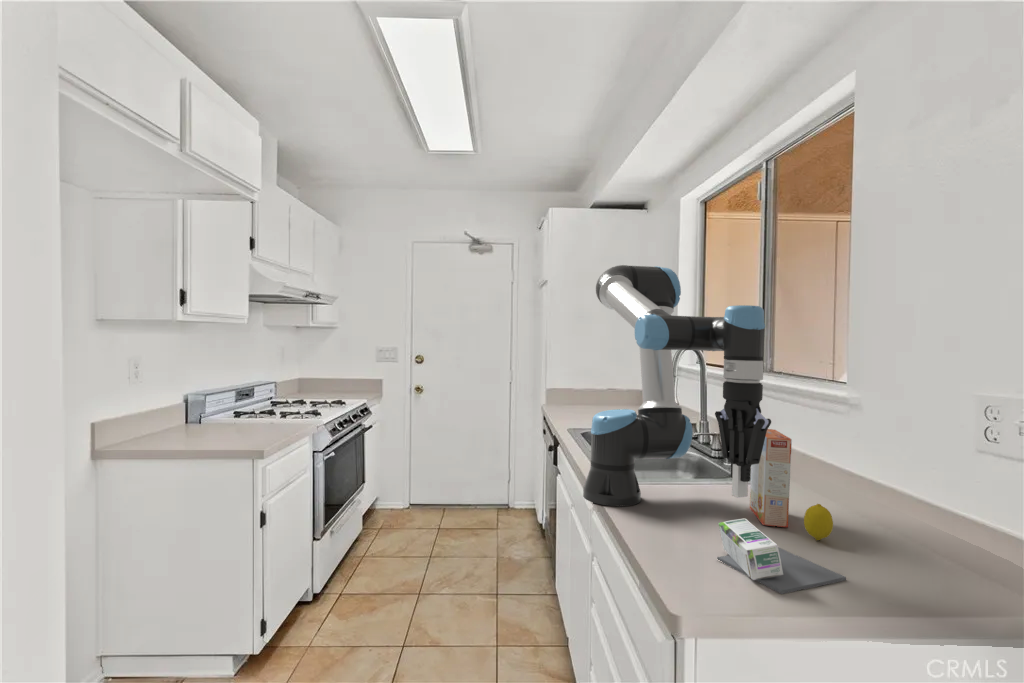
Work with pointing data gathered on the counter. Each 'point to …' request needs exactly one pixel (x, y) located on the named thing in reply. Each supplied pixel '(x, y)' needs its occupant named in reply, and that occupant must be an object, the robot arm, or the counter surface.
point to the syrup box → (751, 549)
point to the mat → (793, 573)
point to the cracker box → (772, 481)
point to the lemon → (818, 522)
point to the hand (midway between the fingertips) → (739, 495)
